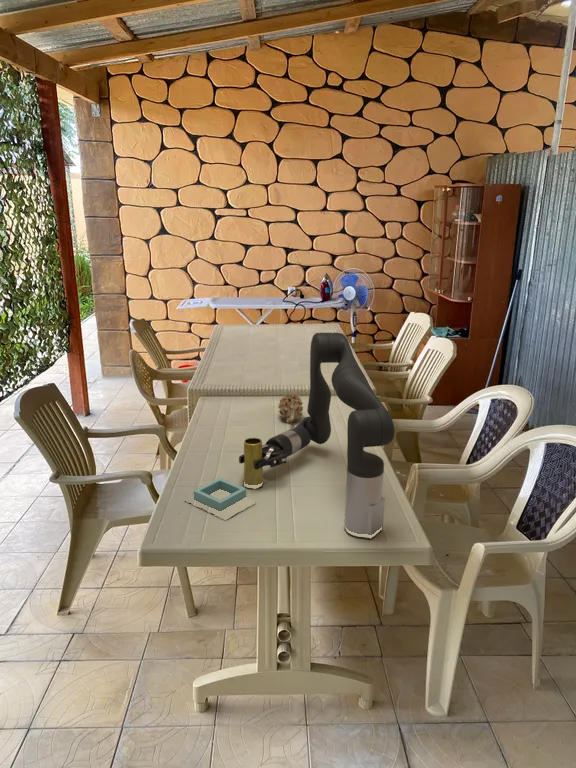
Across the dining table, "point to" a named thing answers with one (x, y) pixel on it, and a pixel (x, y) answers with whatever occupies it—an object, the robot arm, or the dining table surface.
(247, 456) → the vase
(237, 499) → the dock
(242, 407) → the dining table surface
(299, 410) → the pine cone
